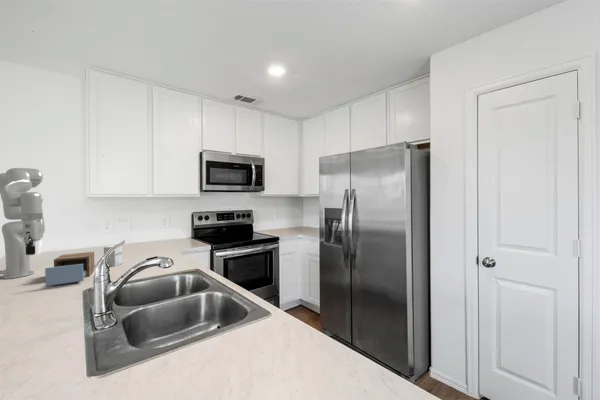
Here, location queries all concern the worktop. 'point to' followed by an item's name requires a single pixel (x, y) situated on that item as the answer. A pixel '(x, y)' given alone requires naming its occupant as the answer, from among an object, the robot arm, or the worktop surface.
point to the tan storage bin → (77, 261)
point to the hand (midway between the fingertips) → (33, 252)
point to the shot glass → (37, 246)
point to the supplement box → (114, 256)
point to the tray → (64, 274)
